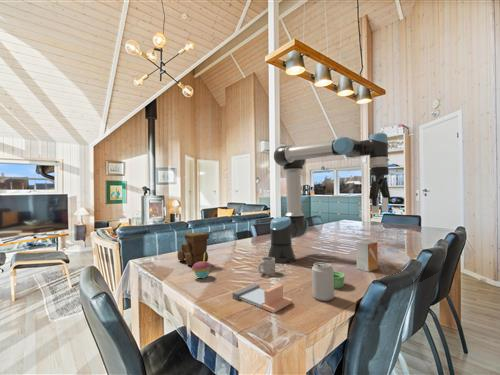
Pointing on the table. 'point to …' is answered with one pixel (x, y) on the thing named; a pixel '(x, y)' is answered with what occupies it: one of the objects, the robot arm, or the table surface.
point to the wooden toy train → (194, 248)
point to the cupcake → (201, 268)
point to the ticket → (251, 295)
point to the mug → (267, 266)
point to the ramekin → (338, 279)
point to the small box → (366, 255)
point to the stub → (275, 299)
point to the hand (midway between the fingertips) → (380, 212)
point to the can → (322, 281)
